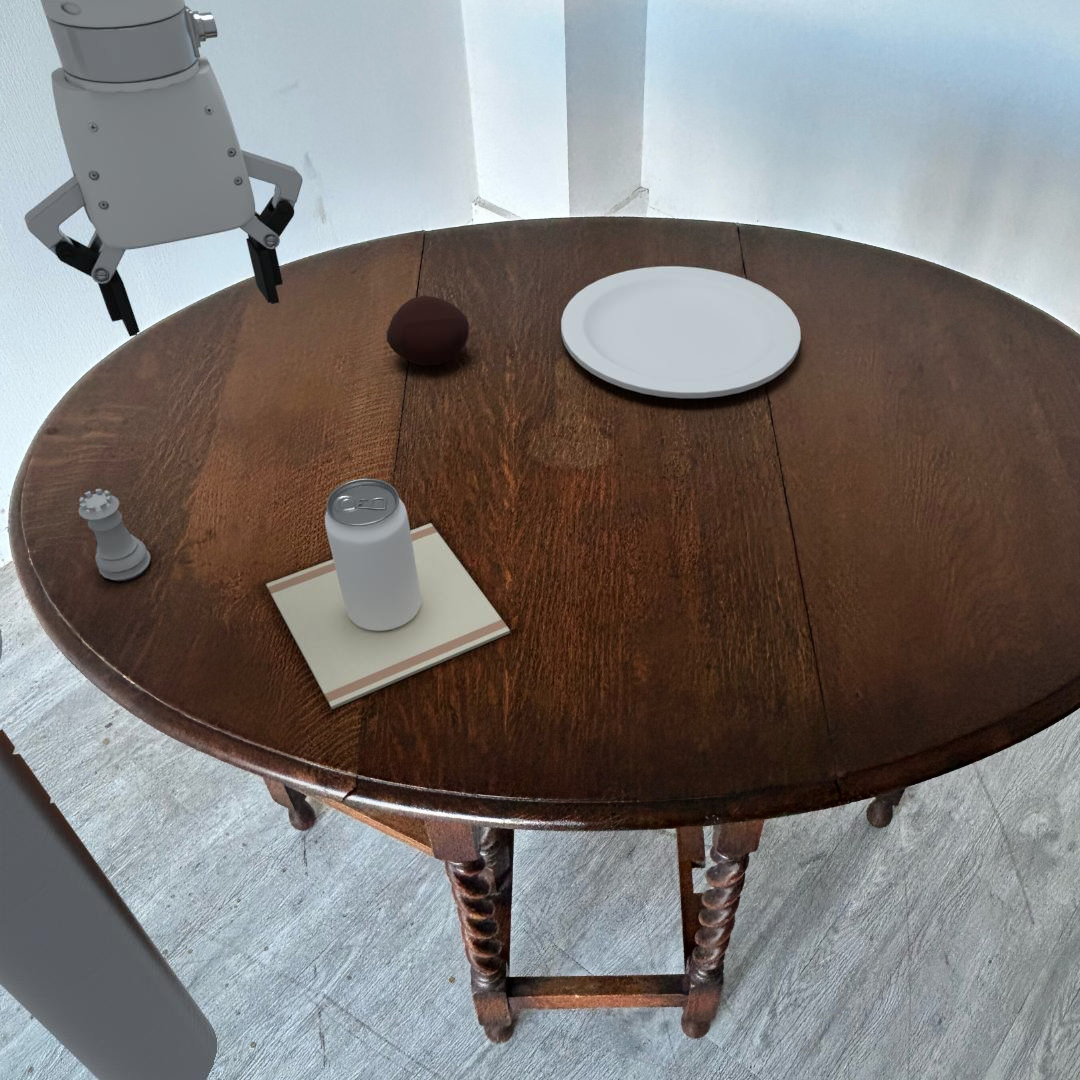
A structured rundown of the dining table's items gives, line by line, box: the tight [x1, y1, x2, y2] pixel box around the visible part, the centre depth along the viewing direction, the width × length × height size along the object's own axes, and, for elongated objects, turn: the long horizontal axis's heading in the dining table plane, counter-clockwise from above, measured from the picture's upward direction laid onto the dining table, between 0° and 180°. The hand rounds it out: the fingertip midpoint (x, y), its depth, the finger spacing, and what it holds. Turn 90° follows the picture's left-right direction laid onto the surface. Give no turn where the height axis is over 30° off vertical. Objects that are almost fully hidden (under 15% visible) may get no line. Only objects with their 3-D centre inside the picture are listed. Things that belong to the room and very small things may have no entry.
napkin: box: [265, 522, 511, 710], centre depth 86 cm, size 16×16×1 cm
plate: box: [560, 265, 802, 399], centre depth 116 cm, size 28×28×2 cm
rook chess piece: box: [77, 488, 152, 582], centre depth 86 cm, size 4×4×8 cm
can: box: [324, 478, 421, 631], centre depth 81 cm, size 6×6×12 cm
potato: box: [386, 295, 470, 367], centre depth 111 cm, size 8×9×8 cm
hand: (201, 310), depth 70 cm, fingers open, 9 cm apart
